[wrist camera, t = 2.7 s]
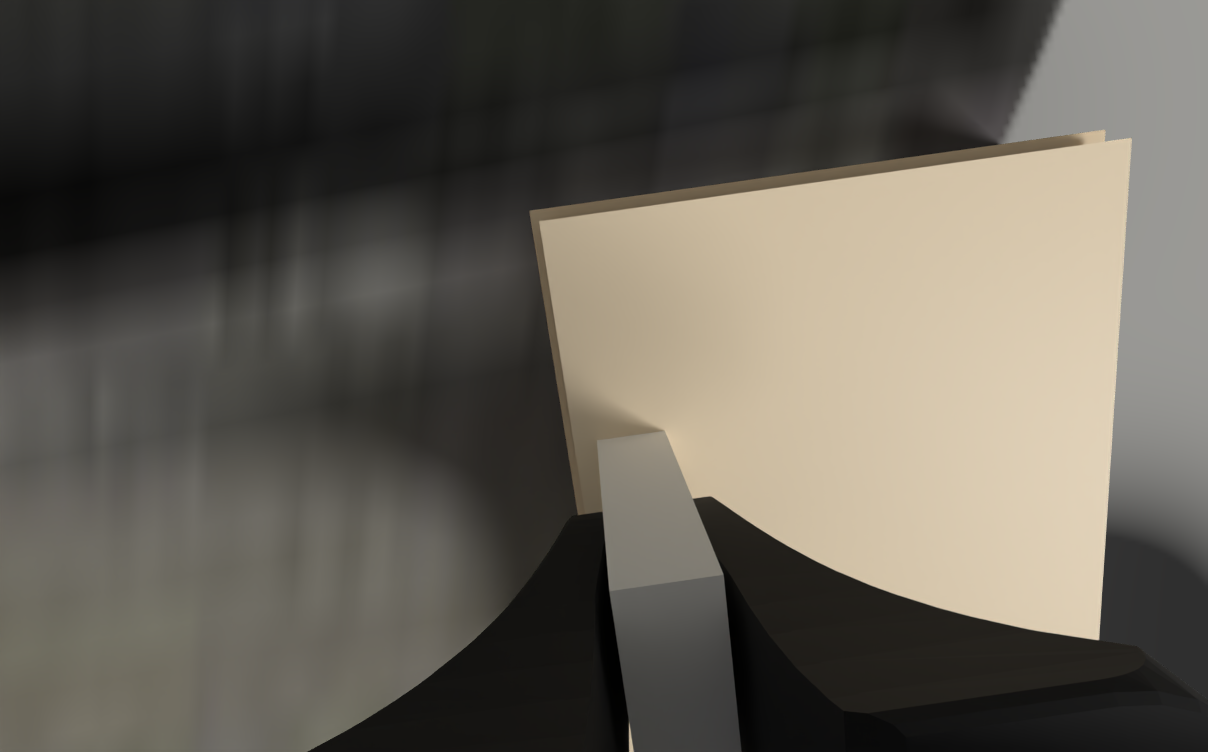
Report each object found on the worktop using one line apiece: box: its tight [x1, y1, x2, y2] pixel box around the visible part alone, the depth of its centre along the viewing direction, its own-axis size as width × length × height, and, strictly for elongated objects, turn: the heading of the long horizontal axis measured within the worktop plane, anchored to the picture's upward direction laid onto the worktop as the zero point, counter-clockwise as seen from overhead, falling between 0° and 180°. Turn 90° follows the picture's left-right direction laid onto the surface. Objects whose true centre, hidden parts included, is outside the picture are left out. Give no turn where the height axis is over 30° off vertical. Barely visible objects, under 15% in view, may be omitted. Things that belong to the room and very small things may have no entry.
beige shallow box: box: [529, 130, 1105, 515], centre depth 14 cm, size 12×10×3 cm
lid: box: [539, 138, 1132, 752], centre depth 10 cm, size 12×10×5 cm
